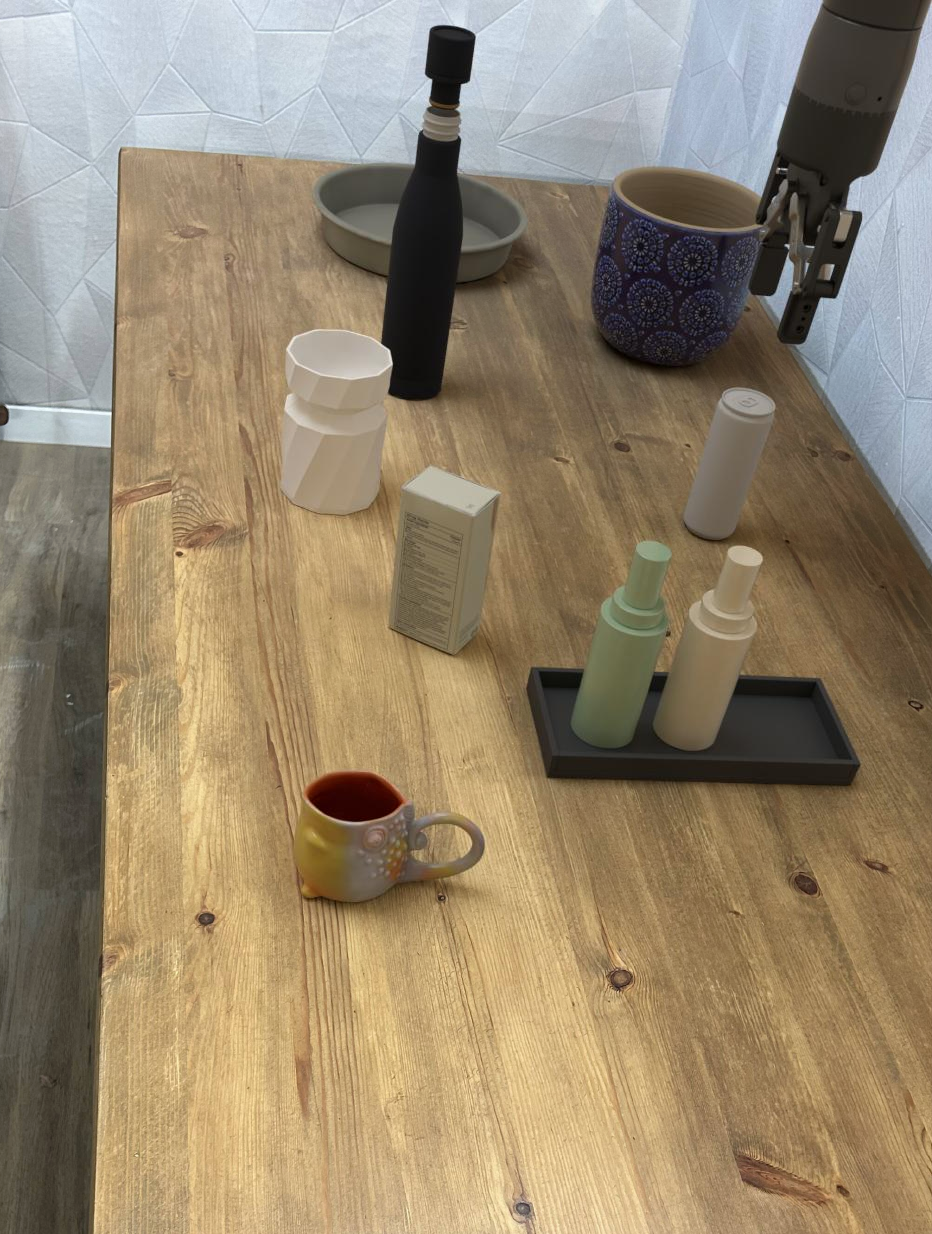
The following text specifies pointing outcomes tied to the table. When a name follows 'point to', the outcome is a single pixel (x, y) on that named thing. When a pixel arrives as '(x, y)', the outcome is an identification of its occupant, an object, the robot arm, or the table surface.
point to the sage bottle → (624, 653)
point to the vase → (334, 420)
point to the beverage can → (728, 462)
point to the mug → (367, 838)
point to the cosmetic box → (442, 558)
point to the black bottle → (429, 228)
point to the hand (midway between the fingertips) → (774, 317)
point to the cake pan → (368, 206)
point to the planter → (673, 263)
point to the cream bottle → (710, 656)
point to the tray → (743, 750)
